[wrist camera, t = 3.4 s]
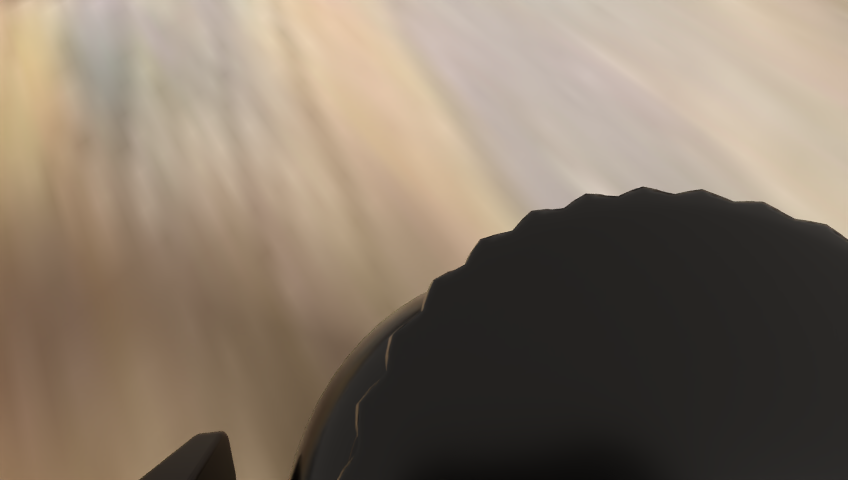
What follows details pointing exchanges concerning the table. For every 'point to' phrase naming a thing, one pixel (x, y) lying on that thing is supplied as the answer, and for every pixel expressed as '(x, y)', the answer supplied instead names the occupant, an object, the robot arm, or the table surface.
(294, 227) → the table surface
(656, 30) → the table surface
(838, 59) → the table surface
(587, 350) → the supplement bottle
